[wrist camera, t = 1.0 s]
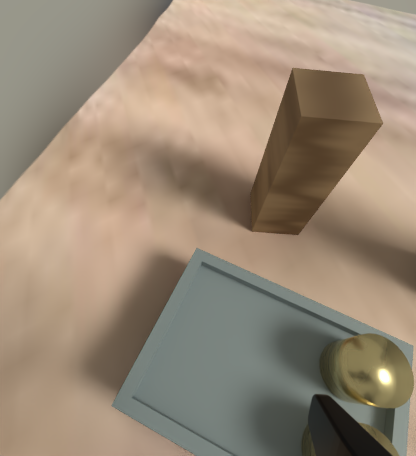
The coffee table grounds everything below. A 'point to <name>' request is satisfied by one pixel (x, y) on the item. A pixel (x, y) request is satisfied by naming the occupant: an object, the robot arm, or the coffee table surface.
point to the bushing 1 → (367, 371)
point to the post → (311, 147)
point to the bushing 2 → (307, 443)
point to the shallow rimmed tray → (242, 366)
